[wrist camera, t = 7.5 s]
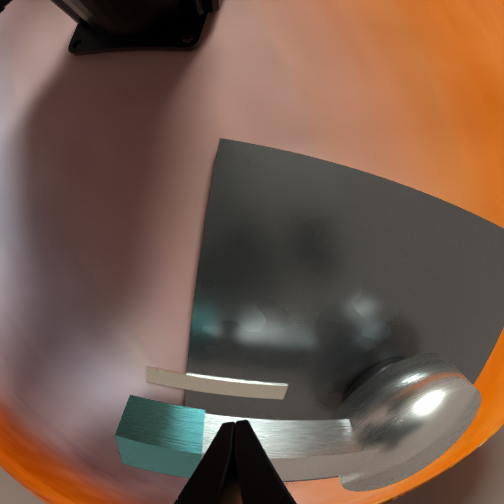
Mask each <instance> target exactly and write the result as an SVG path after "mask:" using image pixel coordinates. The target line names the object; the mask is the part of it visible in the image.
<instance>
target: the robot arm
mask: <svg viewBox="0 0 504 504" xmlns="http://www.w3.org/2000/svg"><path fill="white" fill-rule="evenodd" d="M11 1H13V0H0V13H1V12H2V11H3V10H4V9H5V6H6V5H8V4H9V3H10V2H11ZM51 1H52V2H53V3H55V4H56V5H57V6H58V7H59V8H60V9H62V10H63V11H64V12H65V13H66V14H68V15H69V16H70V17H71V18H72V19H73V20H75V21H76V22H77V23H78V25H77V27H76V30H75V32H74V34H73V37H72V39H71V42H70V44H69V48H68V49H69V52H71V53H72V54H74V55H84V54H92V53H102V52H115V51H136V50H167V51H192V50H194V49H196V48H197V47H198V46H199V44H200V42H201V39H202V36H203V33H204V30H205V27H206V24H207V21H208V18H209V15H210V13H215V12H216V11H218V10H219V9H220V7H221V4H222V1H223V0H51ZM189 37H191V38H194V39H193V40H192V41H191V42H189V43H184V42H183V41H184V39H186V38H189ZM80 43H81V44H80ZM78 44H80V46H79V47H78V48H77V46H78ZM174 504H297V503H296V502H295V500H294V499H293V497H292V496H291V494H290V493H289V492H288V490H287V488H286V486H285V485H284V483H283V481H282V480H281V478H280V476H279V475H278V473H277V471H276V470H275V468H274V466H273V464H272V463H271V461H270V459H269V457H268V456H267V454H266V452H265V450H264V448H263V447H262V445H261V443H260V441H259V439H258V437H257V436H256V434H255V432H254V430H253V428H252V426H251V424H250V422H249V421H248V420H239V421H236V423H235V422H233V421H232V422H225V423H223V424H222V425H221V426H220V428H219V430H218V432H217V434H216V435H215V437H214V439H213V440H212V442H211V444H210V446H209V447H208V449H207V451H206V452H205V454H204V456H203V458H202V459H201V461H200V463H199V464H198V466H197V467H196V469H195V471H194V472H193V474H192V476H191V477H190V479H189V481H188V482H187V484H186V485H185V487H184V488H183V490H182V492H181V493H180V495H179V496H178V499H177V500H176V501H175V502H174Z"/></svg>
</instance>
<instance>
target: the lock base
mask: <svg viewBox="0 0 504 504" xmlns="http://www.w3.org/2000/svg"><path fill="white" fill-rule="evenodd" d="M503 327H504V229H503V228H501V227H499V226H497V225H495V224H493V223H491V222H489V221H487V220H485V219H483V218H481V217H479V216H477V215H475V214H473V213H471V212H469V211H466V210H464V209H462V208H460V207H457V206H455V205H453V204H451V203H448V202H446V201H443V200H441V199H439V198H436V197H434V196H431V195H429V194H426V193H424V192H421V191H418V190H416V189H413V188H410V187H408V186H405V185H402V184H399V183H397V182H394V181H391V180H388V179H385V178H382V177H379V176H376V175H373V174H370V173H367V172H363V171H360V170H357V169H353V168H350V167H347V166H343V165H340V164H336V163H333V162H329V161H325V160H321V159H318V158H314V157H310V156H306V155H302V154H297V153H293V152H289V151H284V150H280V149H275V148H270V147H266V146H261V145H256V144H250V143H245V142H239V141H233V140H227V139H221V138H220V141H219V146H218V151H217V157H216V162H215V167H214V173H213V178H212V184H211V189H210V195H209V201H208V207H207V213H206V219H205V226H204V232H203V239H202V245H201V252H200V259H199V267H198V274H197V282H196V290H195V298H194V306H193V315H192V324H191V334H190V344H189V354H188V366H187V374H185V373H179V372H174V371H168V370H163V369H158V368H154V367H149V366H147V367H146V373H147V382H151V383H155V384H160V385H165V386H170V387H176V388H181V389H186V391H185V406H184V407H189V408H195V409H202V410H205V413H206V414H213V415H221V416H229V417H239V418H251V419H267V420H331V418H332V416H333V415H334V413H335V412H336V410H337V409H338V408H339V407H340V405H341V404H342V403H343V402H344V401H345V400H346V399H347V398H348V397H349V396H350V395H351V394H352V393H353V392H354V391H355V390H356V389H358V388H359V387H360V386H361V385H363V384H364V383H365V382H366V381H368V380H369V379H371V378H372V377H373V376H375V375H376V374H378V373H380V372H381V371H383V370H384V369H386V368H388V367H390V366H392V365H393V364H395V363H397V362H400V361H402V360H404V359H407V358H409V357H412V356H415V355H419V354H425V353H437V354H441V355H443V356H445V357H446V358H447V359H448V360H449V361H450V362H451V363H452V364H453V365H454V366H455V367H456V368H457V369H458V370H459V371H460V372H461V373H462V374H463V375H464V376H465V377H466V378H467V379H468V380H469V381H470V382H471V383H472V384H474V383H475V381H476V379H477V378H478V376H479V374H480V373H481V371H482V369H483V367H484V366H485V364H486V362H487V360H488V358H489V356H490V354H491V352H492V350H493V348H494V346H495V344H496V342H497V340H498V338H499V336H500V334H501V332H502V329H503ZM334 477H339V476H334ZM334 477H326V478H334ZM326 478H316V479H305V480H287V481H283V482H294V481H307V480H317V479H326Z"/></svg>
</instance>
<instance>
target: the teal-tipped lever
mask: <svg viewBox="0 0 504 504" xmlns="http://www.w3.org/2000/svg"><path fill="white" fill-rule="evenodd" d="M480 403H481V394H480V392H479V391H478V390H477V389H476V388H475V387H474V385H473V384H472V383H471V382H470V381H469V380H468V379H467V378H466V377H465V376H464V375H463V374H462V373H461V372H460V371H459V370H458V369H457V368H456V367H455V366H454V365H453V364H452V363H451V362H450V361H449V360H448V359H447V358H446V357H445V356H443V355H441V354H437V353H425V354H419V355H415V356H412V357H409V358H407V359H404V360H402V361H400V362H397V363H395V364H393V365H392V366H390V367H388V368H386V369H384V370H383V371H381V372H380V373H378V374H376V375H375V376H373V377H372V378H371V379H369V380H368V381H366V382H365V383H364V384H363V385H361V386H360V387H359V388H358V389H356V390H355V391H354V392H353V393H352V394H351V395H350V396H349V397H348V398H347V399H346V400H345V401H344V402H343V403H342V404H341V405H340V407H339V408H338V409H337V410H336V412H335V413H334V415H333V416H332V418H331V420H267V419H251V418H239V417H229V416H221V415H213V414H206V413H205V410H202V409H195V408H189V407H183V406H178V405H173V404H168V403H163V402H158V401H154V400H149V399H145V398H141V397H137V396H133V395H130V396H129V399H128V402H127V404H126V407H125V409H124V412H123V415H122V417H121V420H120V423H119V426H118V428H117V431H116V434H115V437H116V441H117V445H118V449H119V453H120V456H121V460H122V463H123V464H126V465H129V466H133V467H137V468H141V469H145V470H149V471H153V472H158V473H163V474H168V475H173V476H179V477H185V478H190V477H191V476H192V474H193V472H194V471H195V469H196V467H197V466H198V464H199V463H200V461H201V459H202V458H203V456H204V454H205V452H206V451H207V449H208V447H209V446H210V444H211V442H212V440H213V439H214V437H215V435H216V434H217V432H218V430H219V428H220V426H221V425H222V424H223V423H225V422H232V421H233V422H235V423H236V421H239V420H248V421H249V422H250V424H251V426H252V428H253V430H254V432H255V434H256V436H257V437H258V439H259V441H260V443H261V445H262V447H263V448H264V450H265V452H266V454H267V456H268V457H269V459H270V461H271V463H272V464H273V466H274V468H275V470H276V471H277V473H278V475H279V476H280V478H281V480H282V481H287V480H305V479H316V478H326V477H334V476H339V479H340V482H341V485H342V486H343V487H344V488H345V489H347V490H350V491H369V490H374V489H379V488H382V487H385V486H388V485H391V484H394V483H396V482H399V481H401V480H403V479H405V478H407V477H409V476H411V475H413V474H415V473H417V472H418V471H420V470H422V469H423V468H425V467H426V466H428V465H429V464H431V463H432V462H433V461H435V460H436V459H437V458H439V457H440V456H441V455H442V454H444V453H445V452H446V451H447V450H448V449H449V448H450V447H451V446H452V445H453V444H454V443H455V442H456V441H457V440H458V439H459V438H460V437H461V436H462V435H463V433H464V432H465V431H466V430H467V428H468V427H469V425H470V424H471V423H472V421H473V419H474V418H475V416H476V414H477V412H478V409H479V406H480Z"/></svg>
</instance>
